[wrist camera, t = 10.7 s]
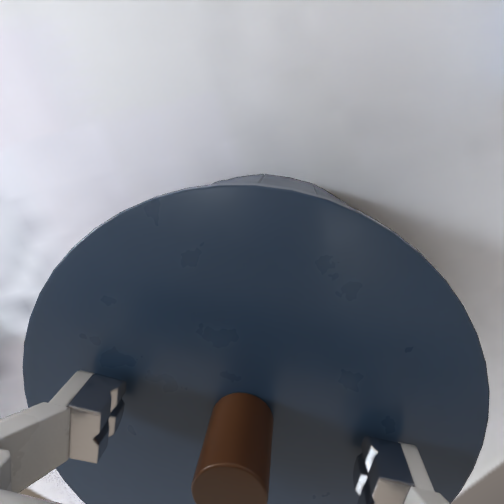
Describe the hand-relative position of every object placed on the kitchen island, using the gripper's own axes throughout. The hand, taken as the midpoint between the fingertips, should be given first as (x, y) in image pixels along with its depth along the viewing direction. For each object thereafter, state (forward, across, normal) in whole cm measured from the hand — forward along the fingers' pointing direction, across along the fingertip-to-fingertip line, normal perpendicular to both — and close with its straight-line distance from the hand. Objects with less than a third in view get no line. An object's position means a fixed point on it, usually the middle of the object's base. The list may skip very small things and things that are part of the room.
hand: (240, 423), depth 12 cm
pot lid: (+1, 0, 0) cm, 1 cm away
